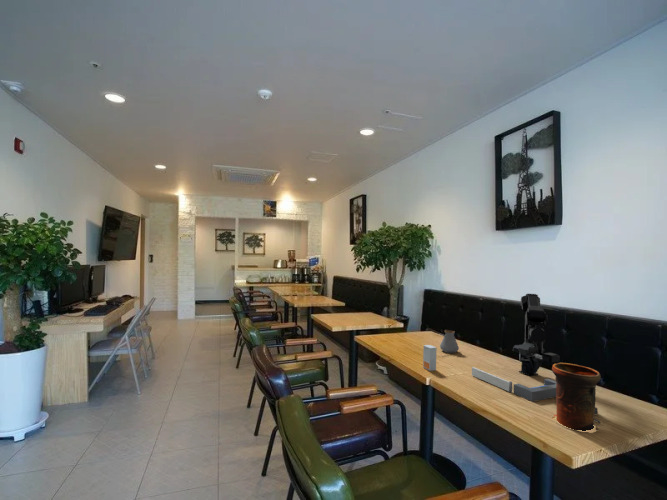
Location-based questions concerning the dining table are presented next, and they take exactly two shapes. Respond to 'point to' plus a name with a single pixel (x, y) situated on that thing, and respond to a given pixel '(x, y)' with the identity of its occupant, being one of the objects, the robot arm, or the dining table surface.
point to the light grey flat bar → (492, 379)
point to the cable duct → (537, 391)
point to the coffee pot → (448, 341)
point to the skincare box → (429, 357)
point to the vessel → (575, 395)
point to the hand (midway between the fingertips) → (534, 372)
